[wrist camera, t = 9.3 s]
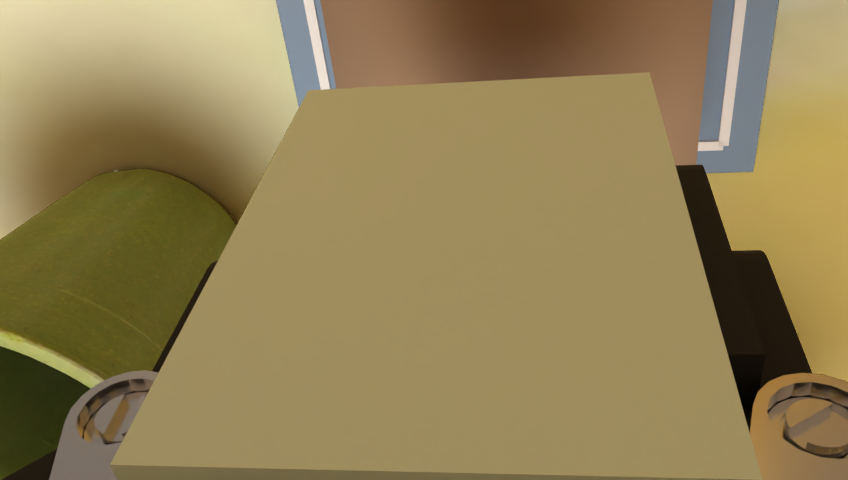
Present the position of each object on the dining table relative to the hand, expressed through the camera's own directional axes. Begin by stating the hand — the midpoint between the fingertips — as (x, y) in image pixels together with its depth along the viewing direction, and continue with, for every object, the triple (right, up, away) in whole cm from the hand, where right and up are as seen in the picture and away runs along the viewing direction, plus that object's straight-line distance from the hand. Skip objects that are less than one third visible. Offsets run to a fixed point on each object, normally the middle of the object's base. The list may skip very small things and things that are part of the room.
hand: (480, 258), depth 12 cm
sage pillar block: (0, +1, +1) cm, 1 cm away
